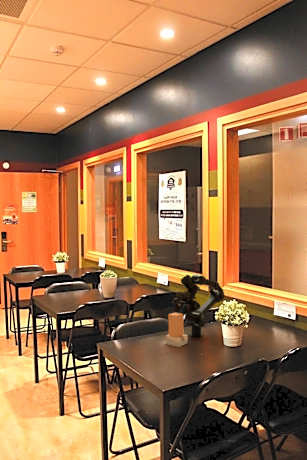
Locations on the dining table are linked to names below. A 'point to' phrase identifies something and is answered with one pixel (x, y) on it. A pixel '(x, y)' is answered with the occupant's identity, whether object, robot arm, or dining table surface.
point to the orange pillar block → (176, 324)
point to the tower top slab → (177, 338)
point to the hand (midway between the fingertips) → (179, 316)
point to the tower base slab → (176, 343)
